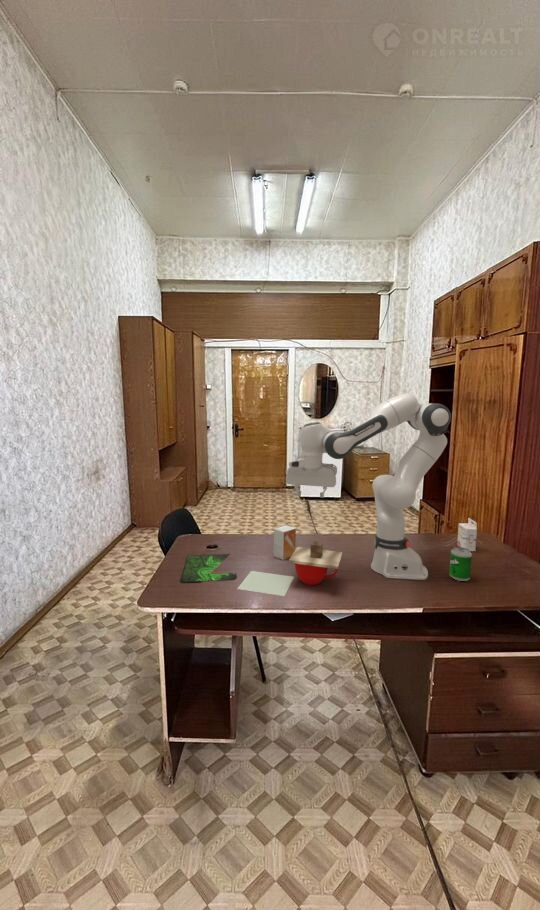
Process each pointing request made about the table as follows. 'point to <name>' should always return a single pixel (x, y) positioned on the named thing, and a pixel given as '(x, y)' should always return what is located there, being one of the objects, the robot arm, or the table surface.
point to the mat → (266, 583)
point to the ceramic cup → (312, 573)
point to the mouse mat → (204, 569)
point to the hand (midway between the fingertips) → (310, 496)
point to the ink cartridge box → (467, 535)
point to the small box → (284, 542)
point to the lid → (316, 556)
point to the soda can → (460, 564)
